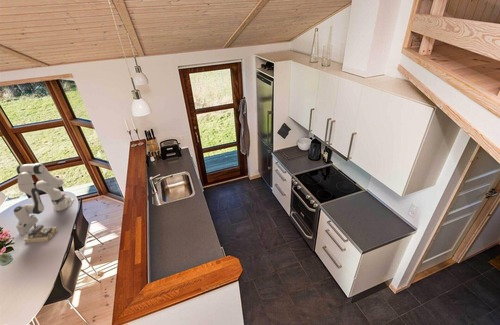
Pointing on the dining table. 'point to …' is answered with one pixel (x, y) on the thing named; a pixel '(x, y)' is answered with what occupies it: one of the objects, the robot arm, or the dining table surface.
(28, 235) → the knob
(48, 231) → the knob
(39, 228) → the knob
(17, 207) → the robot arm
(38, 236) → the panel
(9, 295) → the dining table surface
